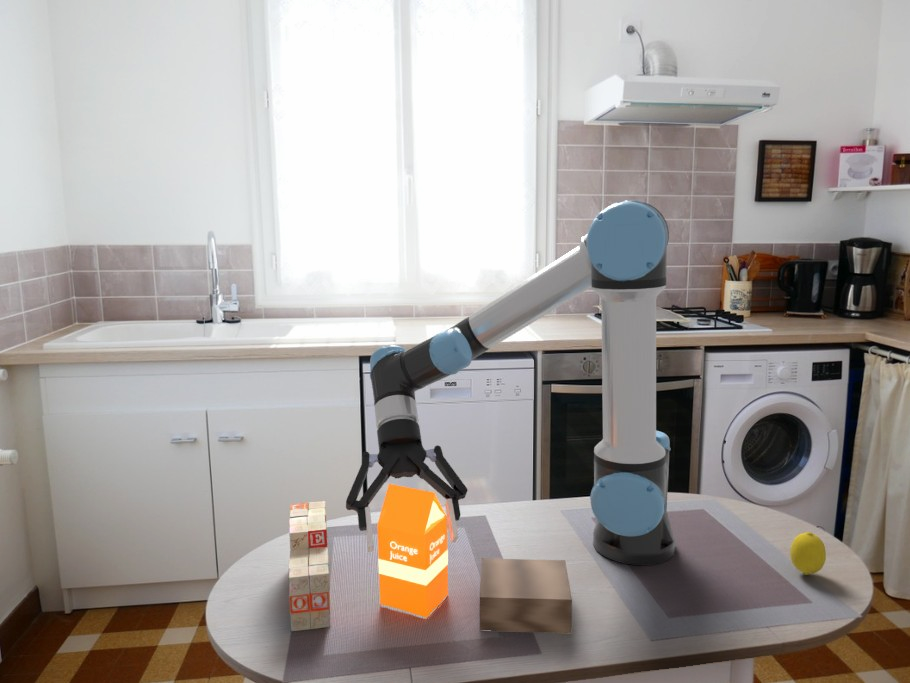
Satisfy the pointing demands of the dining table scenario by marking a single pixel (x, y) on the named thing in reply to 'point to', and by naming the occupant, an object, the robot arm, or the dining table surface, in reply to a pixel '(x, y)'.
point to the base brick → (525, 596)
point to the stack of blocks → (308, 567)
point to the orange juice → (412, 550)
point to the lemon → (808, 553)
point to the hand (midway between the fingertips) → (413, 544)
